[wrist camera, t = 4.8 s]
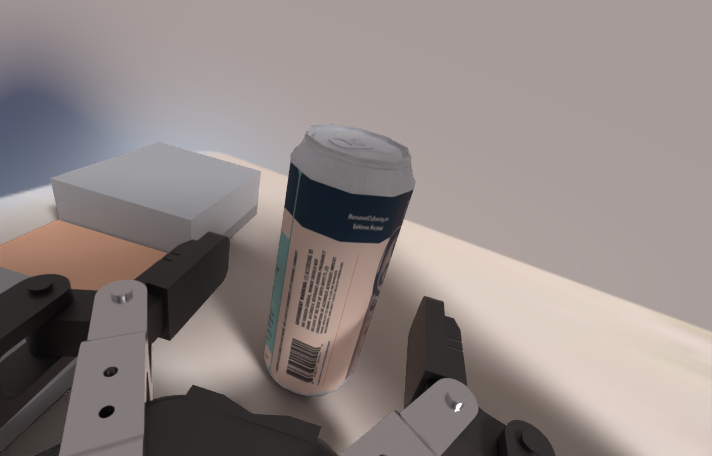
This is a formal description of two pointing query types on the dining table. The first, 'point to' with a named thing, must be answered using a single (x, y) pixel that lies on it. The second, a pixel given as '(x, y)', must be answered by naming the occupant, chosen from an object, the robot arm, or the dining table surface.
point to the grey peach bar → (124, 230)
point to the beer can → (333, 253)
